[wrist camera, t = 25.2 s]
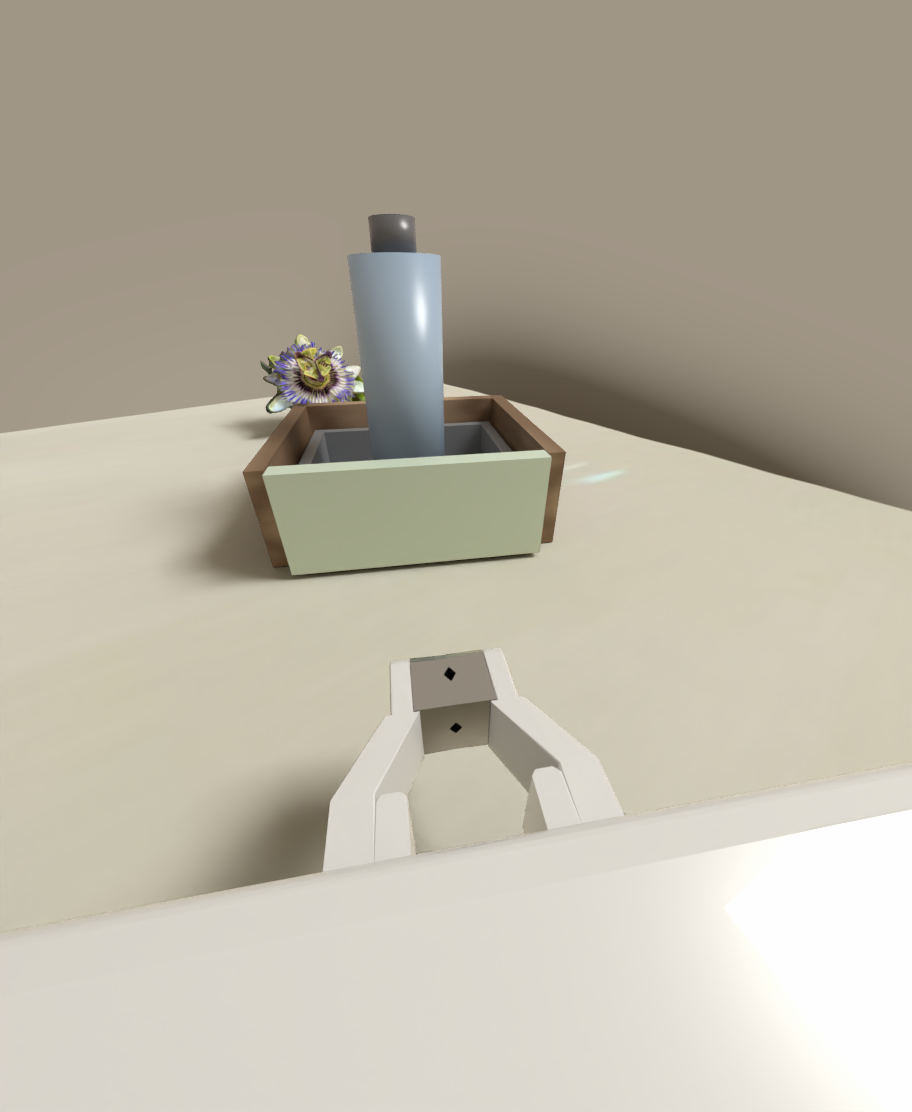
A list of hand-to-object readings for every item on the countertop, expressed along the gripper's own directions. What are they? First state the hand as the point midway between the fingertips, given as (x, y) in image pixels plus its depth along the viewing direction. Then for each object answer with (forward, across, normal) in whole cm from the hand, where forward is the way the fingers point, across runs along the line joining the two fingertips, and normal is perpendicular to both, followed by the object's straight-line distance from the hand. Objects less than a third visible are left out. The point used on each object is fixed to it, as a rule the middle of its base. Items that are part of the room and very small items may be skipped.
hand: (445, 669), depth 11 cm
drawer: (+20, 0, +5) cm, 21 cm away
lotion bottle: (+20, 0, +4) cm, 20 cm away
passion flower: (+44, +9, +5) cm, 46 cm away
